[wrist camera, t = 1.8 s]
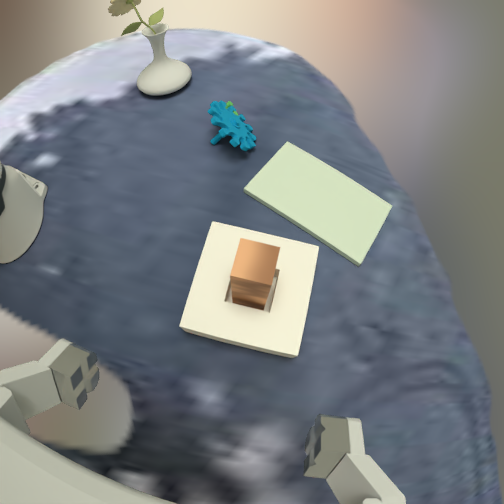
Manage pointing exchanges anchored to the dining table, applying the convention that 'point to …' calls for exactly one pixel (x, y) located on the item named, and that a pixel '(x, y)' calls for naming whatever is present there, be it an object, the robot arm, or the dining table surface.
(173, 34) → the dining table surface
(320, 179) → the mat
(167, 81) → the flower in vase
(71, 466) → the robot arm
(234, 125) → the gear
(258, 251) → the peg
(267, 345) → the socket block
